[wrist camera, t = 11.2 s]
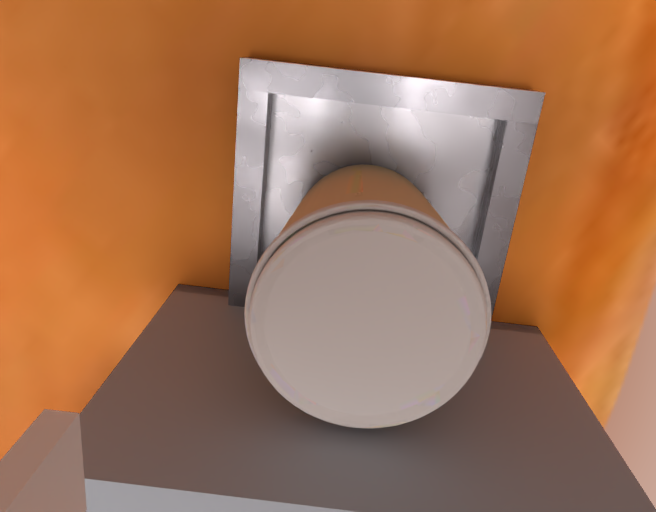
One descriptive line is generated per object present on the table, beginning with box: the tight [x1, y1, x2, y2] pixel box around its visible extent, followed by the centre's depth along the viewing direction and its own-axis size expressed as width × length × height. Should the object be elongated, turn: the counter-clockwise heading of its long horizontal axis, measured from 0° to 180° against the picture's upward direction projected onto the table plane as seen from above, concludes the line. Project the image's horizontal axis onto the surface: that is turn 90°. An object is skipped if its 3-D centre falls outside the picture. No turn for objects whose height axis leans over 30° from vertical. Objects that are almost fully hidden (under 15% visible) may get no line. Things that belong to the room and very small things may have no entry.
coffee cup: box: [244, 164, 491, 428], centre depth 26 cm, size 9×9×12 cm
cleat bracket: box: [228, 57, 545, 318], centre depth 30 cm, size 14×15×2 cm
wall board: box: [80, 284, 656, 512], centre depth 27 cm, size 5×22×16 cm, turn 84°
